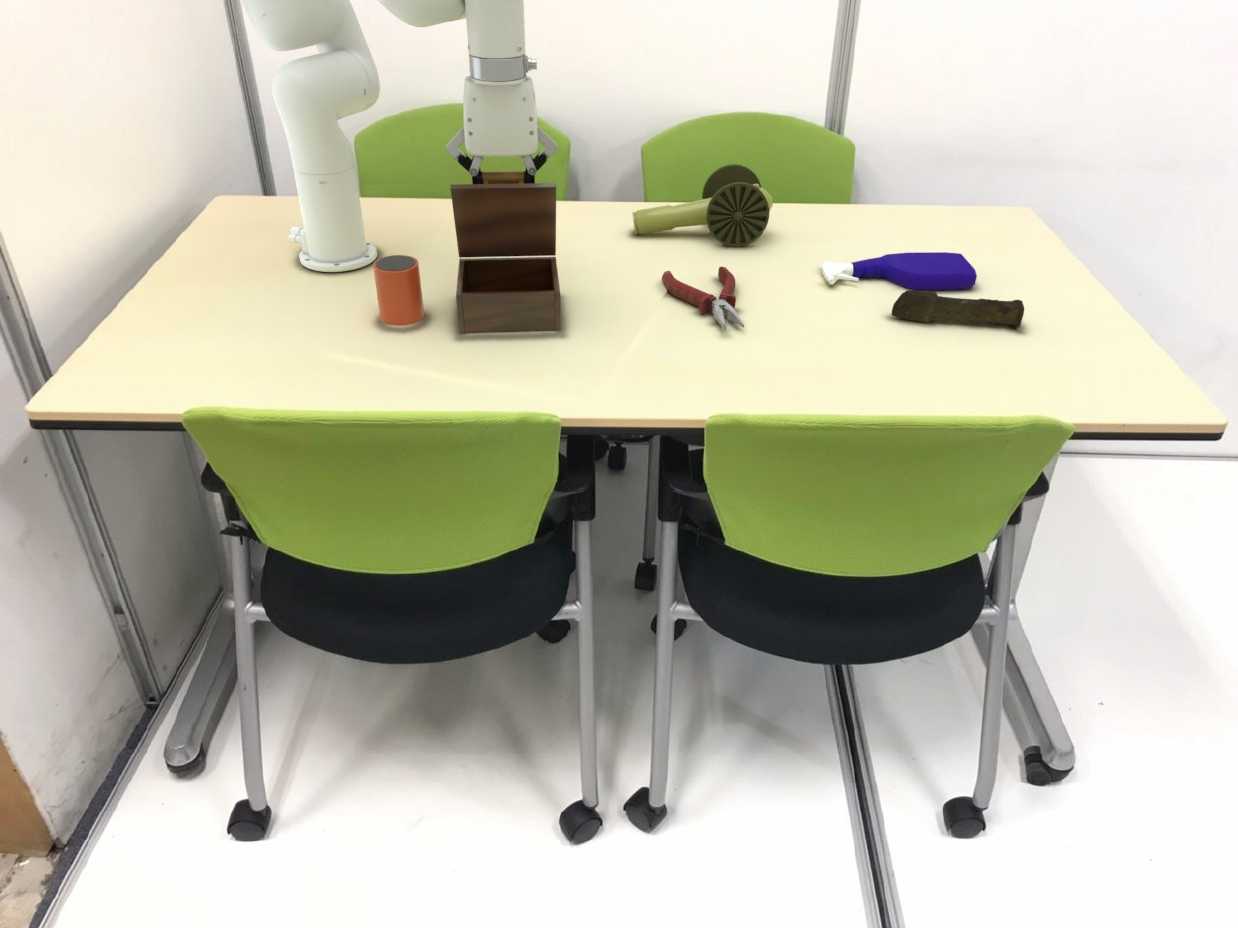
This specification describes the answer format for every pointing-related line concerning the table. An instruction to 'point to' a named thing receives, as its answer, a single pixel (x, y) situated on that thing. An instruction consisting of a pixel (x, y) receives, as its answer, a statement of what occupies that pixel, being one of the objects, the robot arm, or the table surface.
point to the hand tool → (956, 309)
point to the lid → (505, 216)
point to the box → (508, 295)
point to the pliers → (708, 296)
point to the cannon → (717, 209)
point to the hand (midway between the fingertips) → (504, 199)
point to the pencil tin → (398, 290)
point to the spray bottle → (909, 270)
